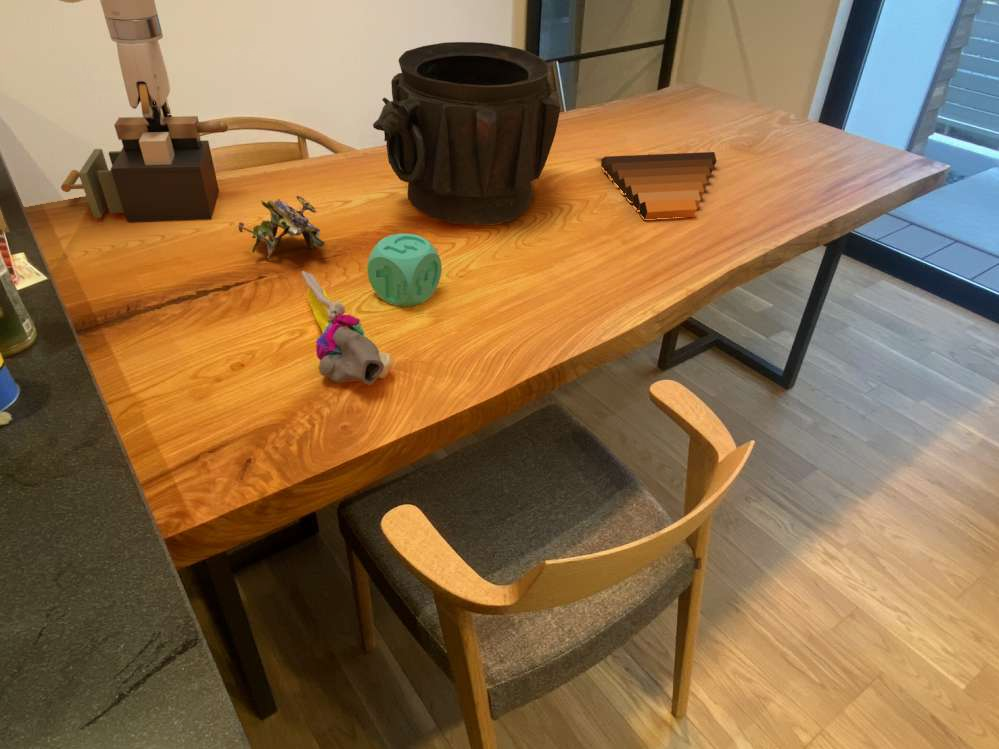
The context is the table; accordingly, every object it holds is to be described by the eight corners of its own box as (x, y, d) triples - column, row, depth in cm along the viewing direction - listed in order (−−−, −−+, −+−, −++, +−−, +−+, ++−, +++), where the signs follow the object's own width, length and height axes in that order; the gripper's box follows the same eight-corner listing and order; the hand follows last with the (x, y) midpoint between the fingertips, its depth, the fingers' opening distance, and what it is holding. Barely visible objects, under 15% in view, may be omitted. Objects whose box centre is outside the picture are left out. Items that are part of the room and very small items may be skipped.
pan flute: (706, 163, 152) (599, 168, 147) (710, 148, 150) (602, 153, 145) (765, 214, 133) (645, 222, 128) (770, 198, 131) (648, 205, 126)
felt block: (145, 165, 113) (138, 141, 111) (149, 155, 116) (143, 132, 114) (171, 164, 114) (165, 140, 112) (174, 155, 117) (169, 131, 115)
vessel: (366, 228, 120) (355, 79, 105) (413, 159, 145) (409, 30, 129) (540, 250, 118) (555, 100, 102) (557, 176, 142) (572, 46, 127)
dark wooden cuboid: (127, 222, 118) (110, 168, 112) (141, 193, 126) (125, 141, 120) (211, 219, 120) (199, 166, 114) (219, 191, 129) (208, 140, 123)
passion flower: (313, 275, 118) (343, 235, 109) (257, 288, 110) (284, 246, 102) (282, 221, 119) (308, 177, 111) (223, 230, 111) (247, 183, 103)
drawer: (66, 218, 116) (49, 174, 111) (82, 192, 124) (67, 149, 119) (172, 214, 119) (160, 171, 114) (181, 189, 127) (171, 147, 122)
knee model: (331, 325, 106) (391, 405, 87) (278, 317, 101) (330, 400, 83) (347, 269, 103) (413, 341, 84) (294, 258, 98) (352, 331, 80)
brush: (122, 151, 117) (114, 124, 114) (126, 143, 120) (118, 117, 117) (230, 148, 120) (225, 122, 118) (232, 141, 123) (227, 115, 120)
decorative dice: (368, 295, 104) (364, 248, 99) (401, 273, 110) (399, 227, 105) (410, 313, 101) (409, 265, 96) (442, 289, 107) (442, 243, 101)
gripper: (120, 14, 113) (150, 126, 125) (95, 41, 101) (132, 163, 112) (168, 15, 115) (194, 125, 126) (151, 41, 102) (181, 161, 114)
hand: (165, 142), depth 119 cm, fingers closed on brush, 3 cm apart
